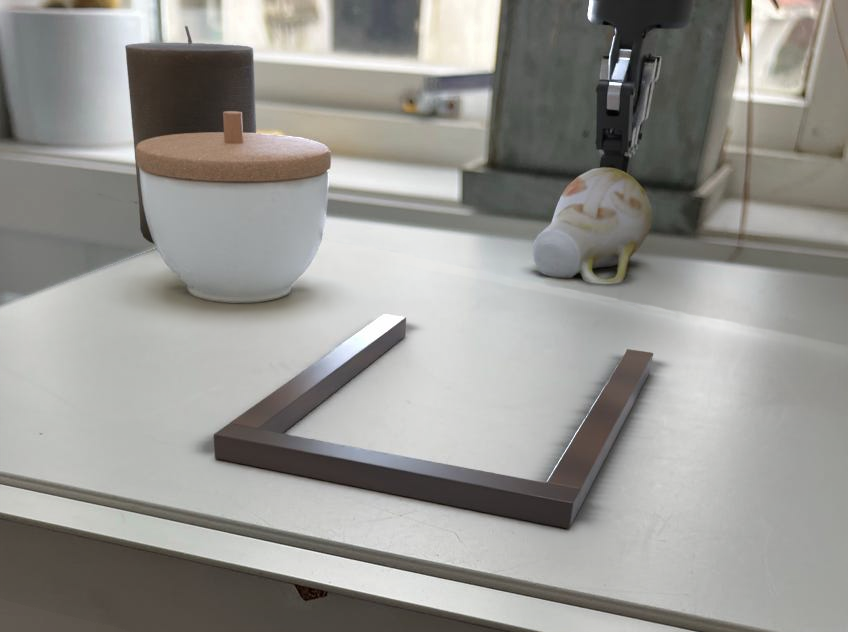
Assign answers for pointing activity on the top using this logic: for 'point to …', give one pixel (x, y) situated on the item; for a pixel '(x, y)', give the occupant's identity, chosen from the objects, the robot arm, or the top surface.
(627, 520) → the top surface
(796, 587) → the top surface
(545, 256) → the mug
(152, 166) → the lidded bowl
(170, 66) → the pillar candle
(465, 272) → the top surface
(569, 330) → the top surface
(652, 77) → the robot arm
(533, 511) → the frame
